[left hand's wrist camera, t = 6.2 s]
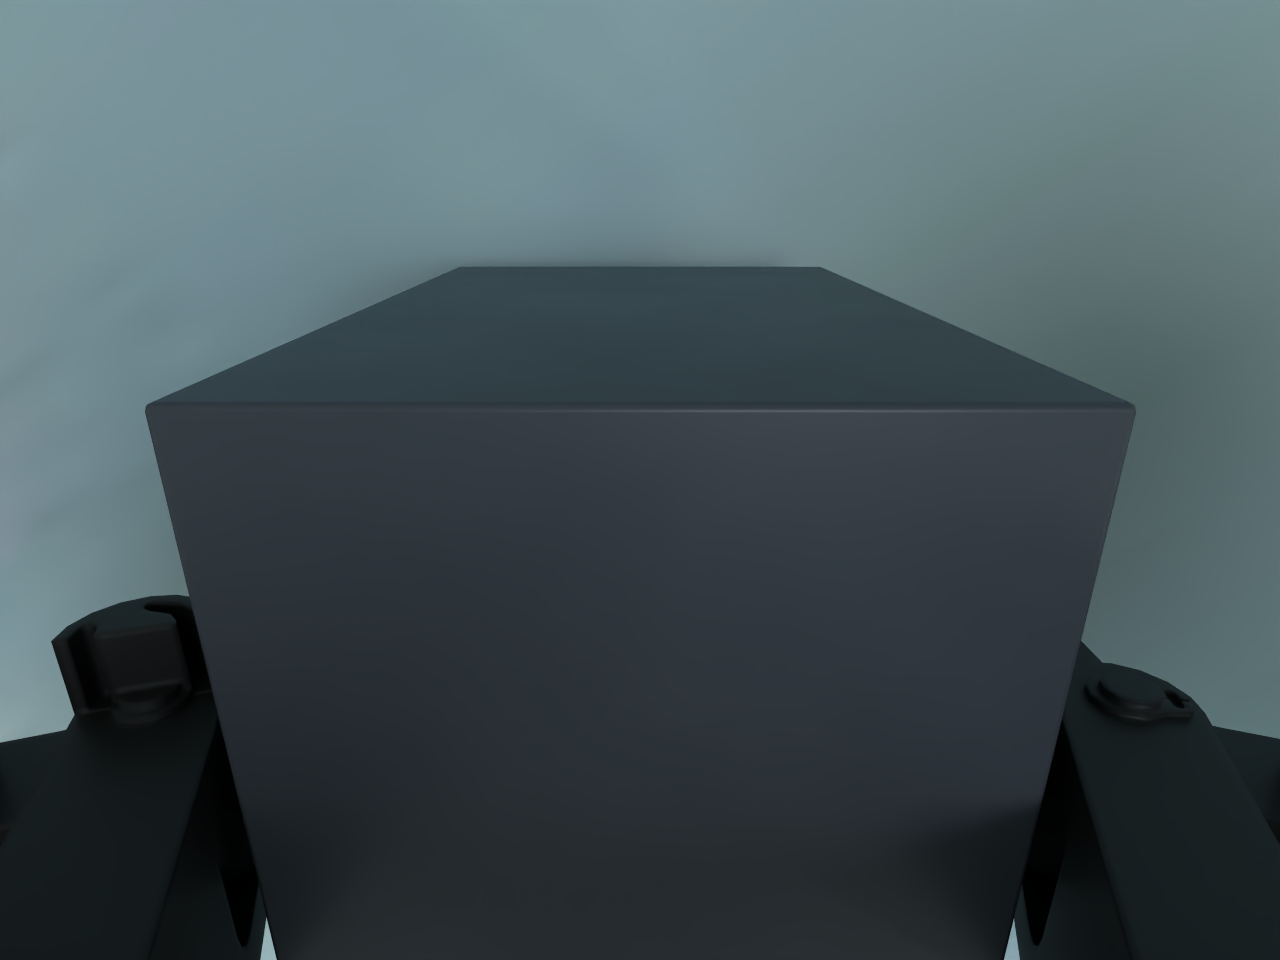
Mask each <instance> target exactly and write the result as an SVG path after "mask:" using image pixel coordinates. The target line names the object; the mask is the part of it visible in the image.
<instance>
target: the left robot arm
mask: <svg viewBox="0 0 1280 960" xmlns="http://www.w3.org/2000/svg"><path fill="white" fill-rule="evenodd" d="M51 642H52V645H53V649H54V652H55V655H56V658H57V661H58V664H59V667H60V670H61V673H62V676H63V680H64V683H65V686H66V689H67V692H68V695H69V698H70V701H71V704H72V707H73V711H74V714H75V715H74V717H73V719H72V721H71V722H70V724H69V726H68V728H67V730H63V731H59V732H54V733H49V734H43V735H38V736H33V737H28V738H23V739H17V740H12V741H7V742H2V743H0V960H260V958H261V951H262V944H263V937H264V930H265V923H266V912H265V908H264V904H263V900H262V896H261V891H260V887H259V883H258V879H257V875H256V871H255V867H254V862H253V858H252V854H251V850H250V846H249V842H248V837H247V833H246V829H245V825H244V821H243V817H242V812H241V808H240V804H239V800H238V796H237V792H236V787H235V783H234V779H233V775H232V771H231V767H230V763H229V758H228V754H227V750H226V746H225V742H224V738H223V733H222V729H221V725H220V721H219V717H218V713H217V708H216V704H215V700H214V696H213V692H212V688H211V683H210V679H209V675H208V671H207V667H206V663H205V658H204V654H203V650H202V646H201V642H200V638H199V634H198V629H197V625H196V621H195V617H194V613H193V609H192V604H191V600H190V597H187V596H181V595H166V596H150V597H145V598H141V599H136V600H131V601H126V602H122V603H119V604H116V605H113V606H110V607H107V608H105V609H102V610H99V611H96V612H93V613H91V614H89V615H87V616H86V617H84V618H82V619H80V620H78V621H76V622H75V623H73V624H71V625H69V626H67V627H66V628H65V629H64V630H63V631H62V632H61V633H60V634H59V635H58V636H56V637H55V638H54V639H53V640H52V641H51ZM1014 921H1015V928H1016V935H1017V942H1018V949H1019V956H1020V960H1280V739H1277V738H1272V737H1266V736H1261V735H1256V734H1251V733H1246V732H1240V731H1235V730H1230V729H1225V728H1220V727H1216V726H1212V724H1211V723H1210V721H1209V719H1208V717H1207V716H1206V714H1205V713H1204V712H1203V710H1202V709H1201V708H1200V707H1199V706H1198V705H1197V704H1196V703H1195V701H1194V700H1193V699H1192V698H1191V697H1190V696H1188V695H1187V694H1185V693H1184V692H1182V691H1180V690H1179V689H1177V688H1176V687H1174V686H1173V685H1171V684H1170V683H1168V682H1166V681H1164V680H1161V679H1159V678H1157V677H1154V676H1152V675H1150V674H1147V673H1145V672H1142V671H1140V670H1136V669H1132V668H1128V667H1124V666H1120V665H1116V664H1112V663H1102V662H1101V661H1100V660H1099V659H1098V658H1097V657H1096V656H1095V655H1094V654H1093V653H1092V652H1091V651H1090V650H1089V649H1088V648H1087V647H1086V646H1085V644H1084V643H1083V642H1082V641H1080V646H1079V650H1078V654H1077V658H1076V662H1075V666H1074V670H1073V675H1072V679H1071V683H1070V687H1069V691H1068V695H1067V699H1066V704H1065V708H1064V712H1063V716H1062V720H1061V724H1060V729H1059V733H1058V737H1057V741H1056V745H1055V749H1054V753H1053V758H1052V762H1051V766H1050V770H1049V774H1048V778H1047V782H1046V787H1045V791H1044V795H1043V799H1042V803H1041V807H1040V811H1039V816H1038V820H1037V824H1036V828H1035V832H1034V836H1033V841H1032V845H1031V849H1030V853H1029V857H1028V861H1027V865H1026V870H1025V874H1024V878H1023V882H1022V886H1021V890H1020V894H1019V899H1018V903H1017V907H1016V911H1015V915H1014Z"/></svg>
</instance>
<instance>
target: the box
mask: <svg viewBox="0 0 1280 960" xmlns="http://www.w3.org/2000/svg"><path fill="white" fill-rule="evenodd" d="M145 413H146V417H147V421H148V426H149V430H150V434H151V438H152V442H153V446H154V450H155V455H156V459H157V463H158V467H159V471H160V475H161V480H162V484H163V488H164V492H165V496H166V500H167V505H168V509H169V513H170V517H171V521H172V525H173V530H174V534H175V538H176V542H177V546H178V550H179V554H180V559H181V563H182V567H183V571H184V575H185V579H186V584H187V588H188V592H189V596H190V600H191V604H192V609H193V613H194V617H195V621H196V625H197V629H198V634H199V638H200V642H201V646H202V650H203V654H204V658H205V663H206V667H207V671H208V675H209V679H210V683H211V688H212V692H213V696H214V700H215V704H216V708H217V713H218V717H219V721H220V725H221V729H222V733H223V738H224V742H225V746H226V750H227V754H228V758H229V763H230V767H231V771H232V775H233V779H234V783H235V787H236V792H237V796H238V800H239V804H240V808H241V812H242V817H243V821H244V825H245V829H246V833H247V837H248V842H249V846H250V850H251V854H252V858H253V862H254V867H255V871H256V875H257V879H258V883H259V887H260V891H261V896H262V900H263V904H264V908H265V912H266V916H267V921H268V925H269V929H270V933H271V937H272V941H273V946H274V950H275V954H276V958H277V960H1004V957H1005V953H1006V948H1007V944H1008V940H1009V936H1010V932H1011V928H1012V924H1013V919H1014V915H1015V911H1016V907H1017V903H1018V899H1019V894H1020V890H1021V886H1022V882H1023V878H1024V874H1025V870H1026V865H1027V861H1028V857H1029V853H1030V849H1031V845H1032V841H1033V836H1034V832H1035V828H1036V824H1037V820H1038V816H1039V811H1040V807H1041V803H1042V799H1043V795H1044V791H1045V787H1046V782H1047V778H1048V774H1049V770H1050V766H1051V762H1052V758H1053V753H1054V749H1055V745H1056V741H1057V737H1058V733H1059V729H1060V724H1061V720H1062V716H1063V712H1064V708H1065V704H1066V699H1067V695H1068V691H1069V687H1070V683H1071V679H1072V675H1073V670H1074V666H1075V662H1076V658H1077V654H1078V650H1079V646H1080V641H1081V637H1082V633H1083V629H1084V625H1085V621H1086V616H1087V612H1088V608H1089V604H1090V600H1091V596H1092V592H1093V587H1094V583H1095V579H1096V575H1097V571H1098V567H1099V563H1100V558H1101V554H1102V550H1103V546H1104V542H1105V538H1106V533H1107V529H1108V525H1109V521H1110V517H1111V513H1112V509H1113V504H1114V500H1115V496H1116V492H1117V488H1118V484H1119V480H1120V475H1121V471H1122V467H1123V463H1124V459H1125V455H1126V450H1127V446H1128V442H1129V438H1130V434H1131V430H1132V426H1133V421H1134V417H1135V413H1136V410H1135V406H1134V404H1131V403H1129V402H1127V401H1125V400H1122V399H1120V398H1118V397H1116V396H1113V395H1111V394H1109V393H1106V392H1104V391H1102V390H1100V389H1097V388H1095V387H1093V386H1090V385H1088V384H1086V383H1084V382H1081V381H1079V380H1077V379H1075V378H1072V377H1070V376H1068V375H1065V374H1063V373H1061V372H1059V371H1056V370H1054V369H1052V368H1049V367H1047V366H1045V365H1043V364H1040V363H1038V362H1036V361H1033V360H1031V359H1029V358H1027V357H1024V356H1022V355H1020V354H1018V353H1015V352H1013V351H1011V350H1008V349H1006V348H1004V347H1002V346H999V345H997V344H995V343H992V342H990V341H988V340H986V339H983V338H981V337H979V336H976V335H974V334H972V333H970V332H967V331H965V330H963V329H961V328H958V327H956V326H954V325H951V324H949V323H947V322H945V321H942V320H940V319H938V318H935V317H933V316H931V315H929V314H926V313H924V312H922V311H919V310H917V309H915V308H913V307H910V306H908V305H906V304H904V303H901V302H899V301H897V300H894V299H892V298H890V297H888V296H885V295H883V294H881V293H878V292H876V291H874V290H872V289H869V288H867V287H865V286H862V285H860V284H858V283H856V282H853V281H851V280H849V279H847V278H844V277H842V276H840V275H837V274H835V273H833V272H831V271H828V270H826V269H824V268H821V267H459V268H457V269H454V270H452V271H450V272H448V273H445V274H443V275H441V276H438V277H436V278H434V279H432V280H429V281H427V282H425V283H422V284H420V285H418V286H416V287H413V288H411V289H409V290H407V291H404V292H402V293H400V294H397V295H395V296H393V297H391V298H388V299H386V300H384V301H382V302H379V303H377V304H375V305H372V306H370V307H368V308H366V309H363V310H361V311H359V312H356V313H354V314H352V315H350V316H347V317H345V318H343V319H341V320H338V321H336V322H334V323H331V324H329V325H327V326H325V327H322V328H320V329H318V330H316V331H313V332H311V333H309V334H306V335H304V336H302V337H300V338H297V339H295V340H293V341H290V342H288V343H286V344H284V345H281V346H279V347H277V348H275V349H272V350H270V351H268V352H265V353H263V354H261V355H259V356H256V357H254V358H252V359H250V360H247V361H245V362H243V363H240V364H238V365H236V366H234V367H231V368H229V369H227V370H224V371H222V372H220V373H218V374H215V375H213V376H211V377H209V378H206V379H204V380H202V381H199V382H197V383H195V384H193V385H190V386H188V387H186V388H184V389H181V390H179V391H177V392H174V393H172V394H170V395H168V396H165V397H163V398H161V399H158V400H156V401H154V402H152V403H149V404H147V406H146V410H145Z"/></svg>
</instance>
